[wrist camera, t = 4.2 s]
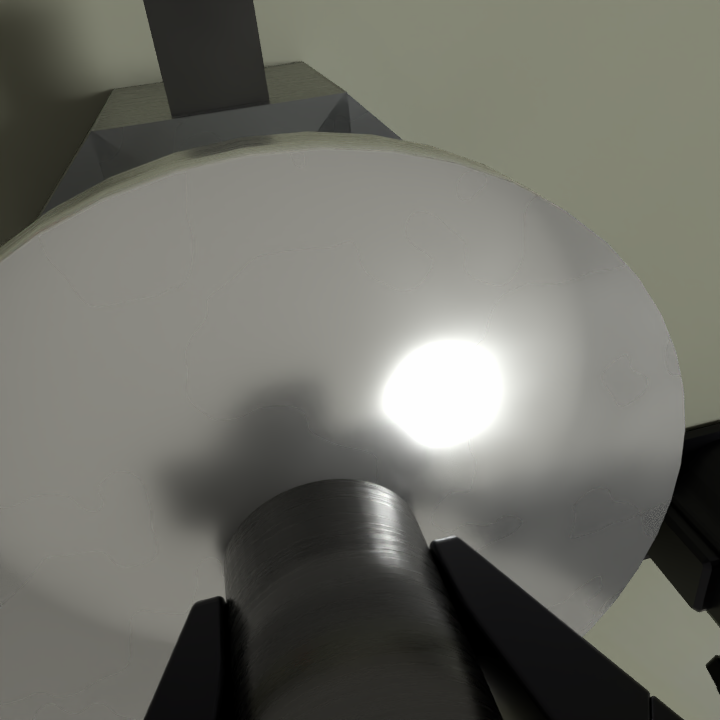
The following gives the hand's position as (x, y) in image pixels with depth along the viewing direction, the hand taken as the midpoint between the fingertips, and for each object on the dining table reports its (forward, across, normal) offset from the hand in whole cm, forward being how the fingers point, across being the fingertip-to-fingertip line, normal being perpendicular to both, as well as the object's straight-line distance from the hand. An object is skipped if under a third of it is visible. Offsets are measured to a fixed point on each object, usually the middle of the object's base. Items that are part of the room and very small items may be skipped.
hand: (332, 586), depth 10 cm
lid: (+2, 0, 0) cm, 2 cm away
